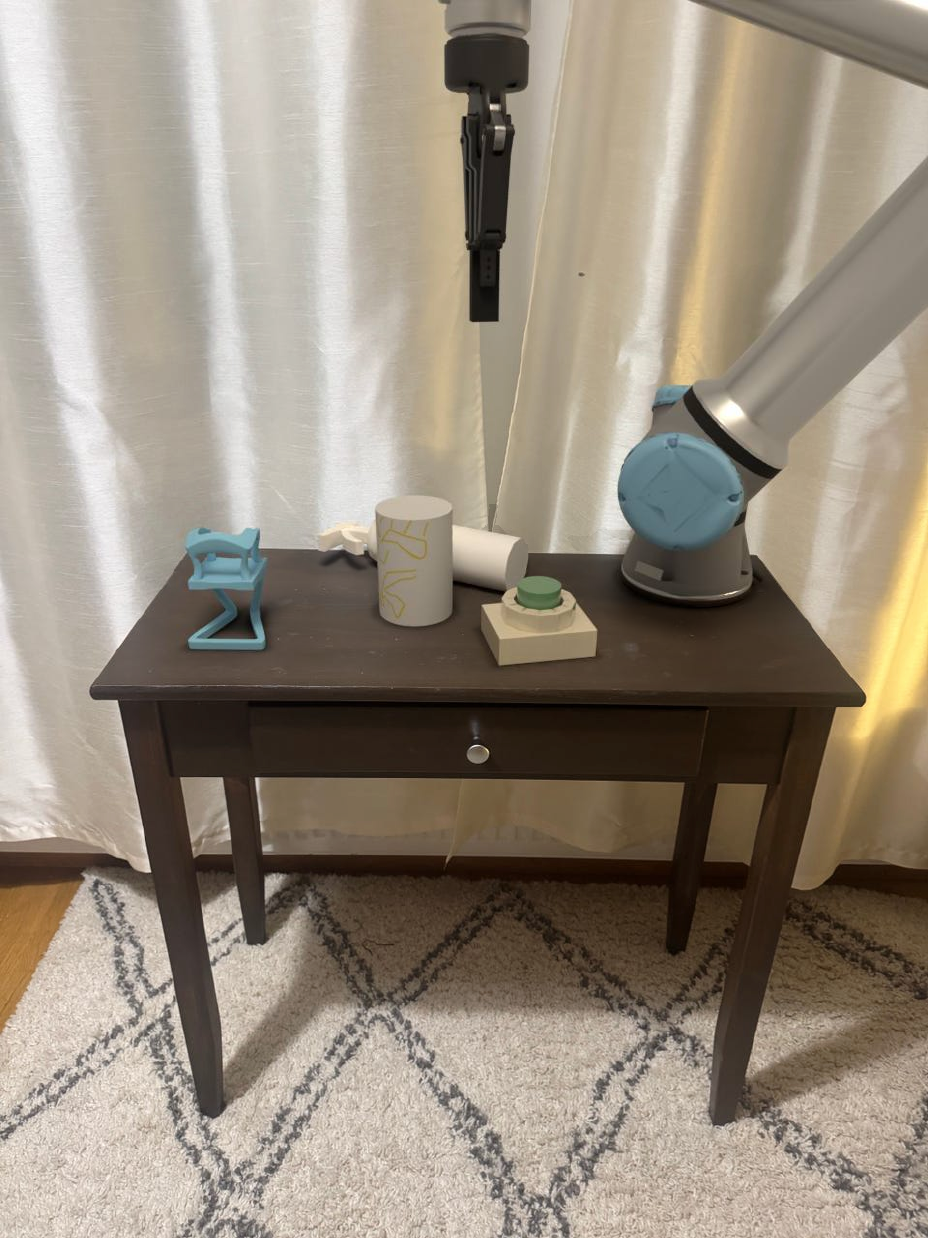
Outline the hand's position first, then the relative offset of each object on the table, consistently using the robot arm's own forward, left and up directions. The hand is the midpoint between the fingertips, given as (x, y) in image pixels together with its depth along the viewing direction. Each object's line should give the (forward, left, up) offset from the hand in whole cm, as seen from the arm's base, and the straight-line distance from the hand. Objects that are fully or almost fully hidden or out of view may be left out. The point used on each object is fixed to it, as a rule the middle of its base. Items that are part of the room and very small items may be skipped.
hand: (483, 320), depth 85 cm
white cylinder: (+8, +2, -31) cm, 32 cm away
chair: (+27, +4, -31) cm, 41 cm away
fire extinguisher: (-6, -2, -27) cm, 28 cm away
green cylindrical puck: (-3, +12, -26) cm, 29 cm away
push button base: (-3, +12, -30) cm, 33 cm away
